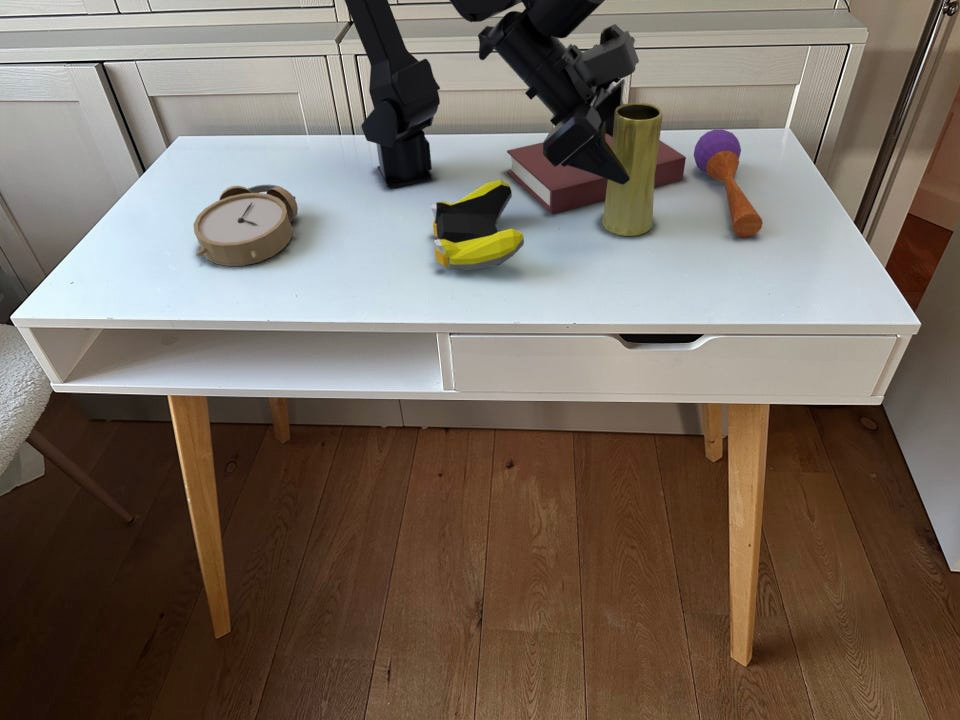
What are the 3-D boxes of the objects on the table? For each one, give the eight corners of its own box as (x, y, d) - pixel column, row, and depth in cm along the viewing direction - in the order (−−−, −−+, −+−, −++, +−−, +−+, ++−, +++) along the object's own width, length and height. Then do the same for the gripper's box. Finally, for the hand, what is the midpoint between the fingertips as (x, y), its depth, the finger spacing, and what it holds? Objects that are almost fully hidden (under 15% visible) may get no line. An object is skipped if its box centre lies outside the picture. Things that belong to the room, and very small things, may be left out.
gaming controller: (510, 213, 92) (432, 220, 92) (509, 174, 89) (428, 180, 88) (526, 279, 81) (437, 287, 80) (526, 237, 77) (433, 244, 77)
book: (551, 214, 92) (552, 190, 90) (507, 172, 101) (506, 150, 99) (682, 179, 97) (686, 157, 95) (629, 143, 107) (631, 121, 104)
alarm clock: (176, 245, 84) (222, 167, 93) (192, 275, 88) (235, 197, 97) (266, 249, 82) (304, 169, 92) (279, 280, 86) (314, 200, 96)
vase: (640, 241, 86) (654, 126, 77) (593, 229, 88) (601, 116, 79) (659, 219, 90) (674, 106, 80) (614, 207, 92) (623, 97, 83)
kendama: (721, 209, 83) (689, 126, 97) (721, 250, 87) (690, 164, 101) (775, 199, 82) (735, 117, 96) (773, 241, 86) (734, 156, 100)
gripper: (577, 35, 68) (681, 156, 72) (611, -16, 81) (697, 89, 85) (499, 111, 75) (598, 217, 79) (542, 53, 88) (625, 146, 92)
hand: (632, 163), depth 84 cm, fingers open, 9 cm apart
